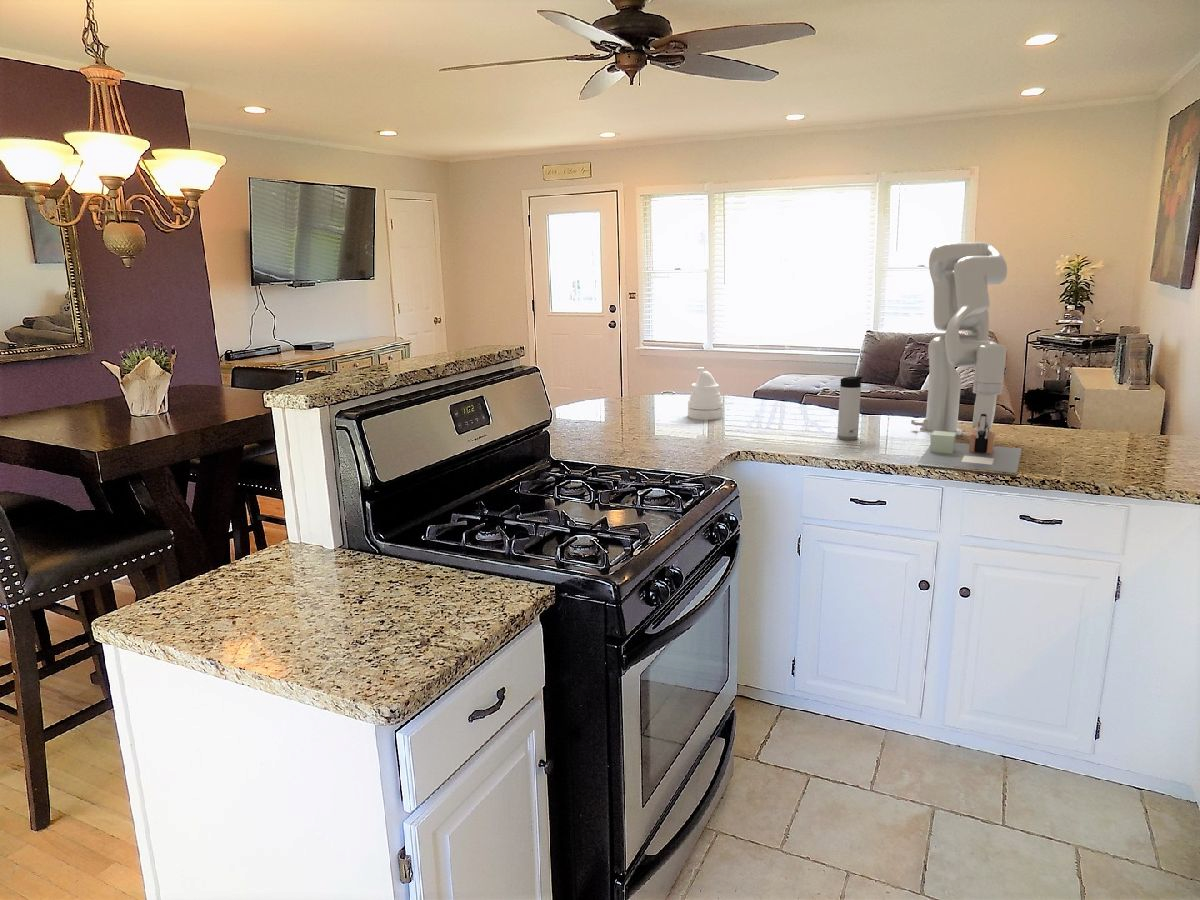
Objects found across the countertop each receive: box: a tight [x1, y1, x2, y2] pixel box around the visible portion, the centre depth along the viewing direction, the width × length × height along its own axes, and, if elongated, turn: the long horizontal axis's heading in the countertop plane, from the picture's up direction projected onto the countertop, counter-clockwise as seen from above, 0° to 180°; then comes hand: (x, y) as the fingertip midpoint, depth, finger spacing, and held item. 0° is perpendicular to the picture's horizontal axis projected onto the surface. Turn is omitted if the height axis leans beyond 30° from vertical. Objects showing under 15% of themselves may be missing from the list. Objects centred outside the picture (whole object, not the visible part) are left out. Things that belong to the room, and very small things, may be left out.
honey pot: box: [687, 366, 724, 421], centre depth 288 cm, size 13×13×18 cm
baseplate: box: [917, 442, 1023, 478], centre depth 222 cm, size 24×30×1 cm
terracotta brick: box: [969, 430, 996, 454], centre depth 226 cm, size 6×6×5 cm
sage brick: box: [929, 431, 957, 454], centre depth 228 cm, size 6×6×5 cm
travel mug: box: [837, 375, 863, 441], centre depth 249 cm, size 6×7×20 cm
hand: (981, 449), depth 227 cm, fingers closed on terracotta brick, 5 cm apart
